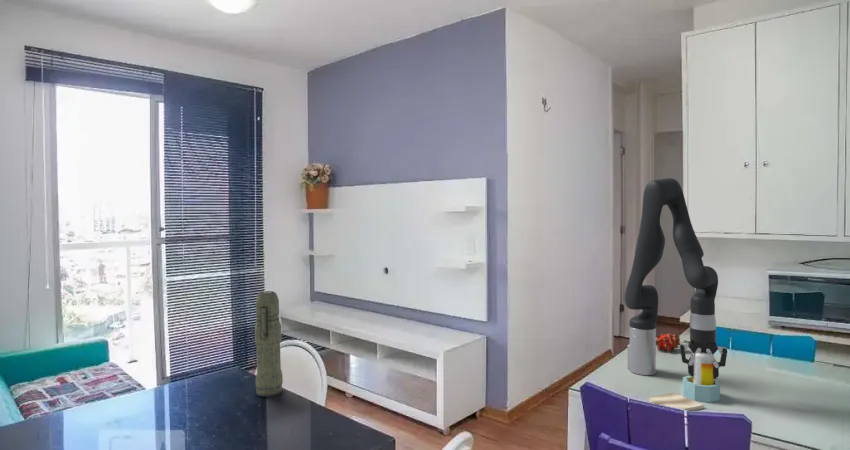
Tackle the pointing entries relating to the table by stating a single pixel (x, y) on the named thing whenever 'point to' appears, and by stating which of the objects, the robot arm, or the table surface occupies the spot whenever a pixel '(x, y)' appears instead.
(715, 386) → the can holder
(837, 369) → the table surface
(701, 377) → the beer can
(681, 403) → the birch board
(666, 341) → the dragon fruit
